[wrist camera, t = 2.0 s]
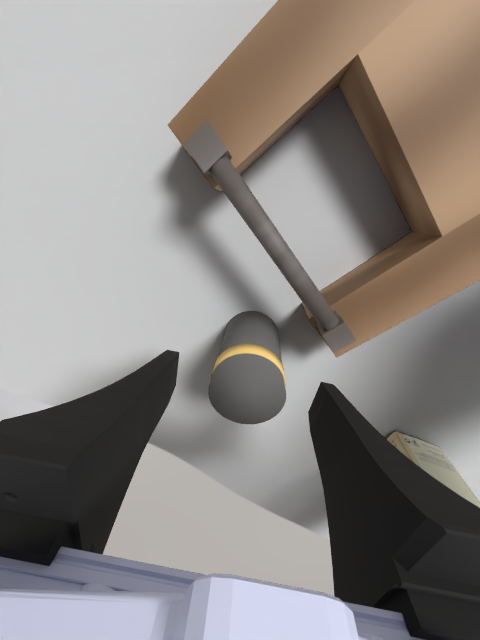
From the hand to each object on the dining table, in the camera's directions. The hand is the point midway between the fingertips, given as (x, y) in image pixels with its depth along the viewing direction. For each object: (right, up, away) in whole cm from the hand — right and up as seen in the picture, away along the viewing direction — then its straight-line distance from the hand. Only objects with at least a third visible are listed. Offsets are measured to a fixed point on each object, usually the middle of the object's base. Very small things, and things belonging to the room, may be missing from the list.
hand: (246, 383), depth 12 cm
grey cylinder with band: (0, +2, +5) cm, 5 cm away
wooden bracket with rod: (+5, +10, +1) cm, 12 cm away
